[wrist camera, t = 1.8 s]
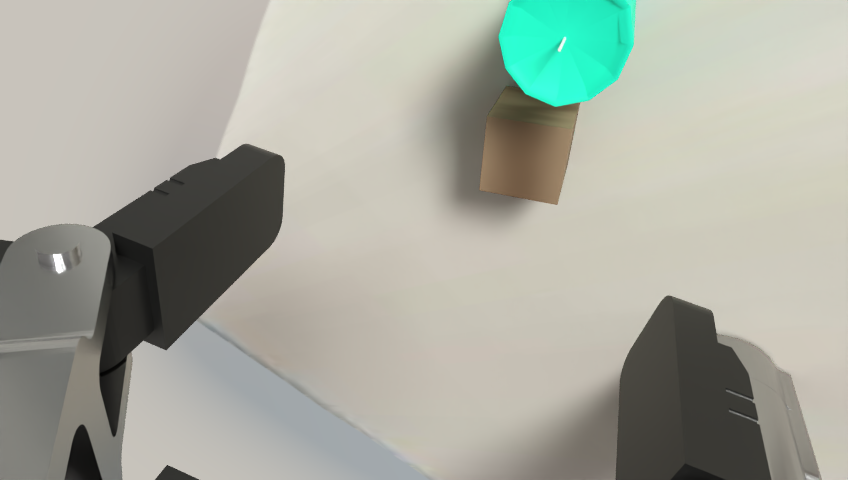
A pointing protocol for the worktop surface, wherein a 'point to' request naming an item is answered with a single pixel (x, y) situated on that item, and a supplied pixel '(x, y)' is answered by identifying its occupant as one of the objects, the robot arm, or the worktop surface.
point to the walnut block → (527, 147)
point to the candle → (566, 46)
